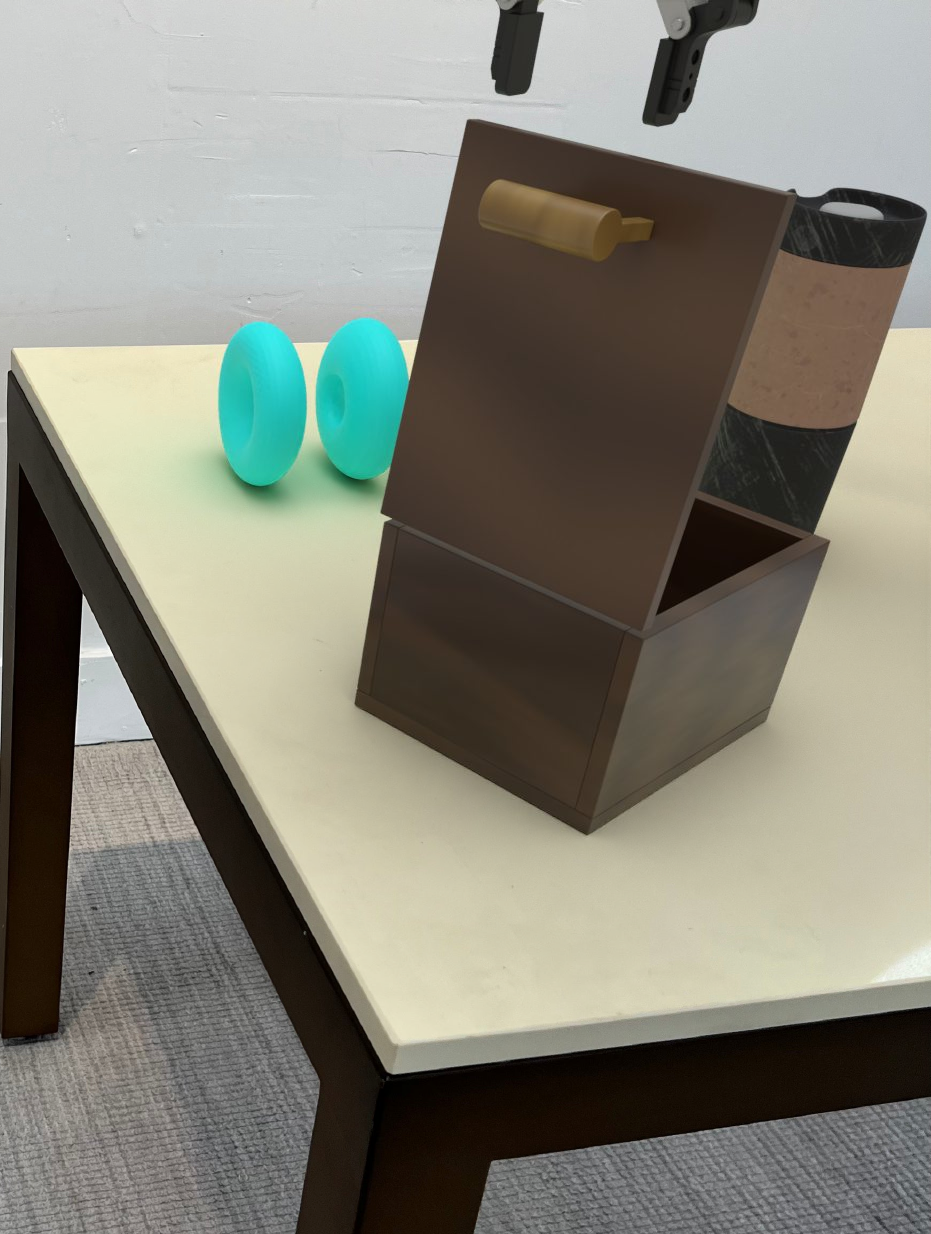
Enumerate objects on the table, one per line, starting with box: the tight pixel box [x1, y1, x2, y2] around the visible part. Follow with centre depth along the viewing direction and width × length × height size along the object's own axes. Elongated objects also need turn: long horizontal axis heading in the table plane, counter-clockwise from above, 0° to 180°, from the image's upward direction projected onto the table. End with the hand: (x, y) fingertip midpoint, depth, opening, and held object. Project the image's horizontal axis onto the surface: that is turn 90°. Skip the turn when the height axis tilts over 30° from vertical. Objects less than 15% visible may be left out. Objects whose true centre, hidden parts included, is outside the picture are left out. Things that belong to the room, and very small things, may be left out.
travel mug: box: [698, 187, 928, 534], centre depth 86 cm, size 8×8×20 cm
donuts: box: [217, 317, 410, 487], centre depth 94 cm, size 10×10×10 cm
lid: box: [380, 118, 798, 631], centre depth 58 cm, size 17×14×5 cm
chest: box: [354, 491, 831, 835], centre depth 71 cm, size 16×14×10 cm
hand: (581, 108), depth 73 cm, fingers open, 8 cm apart
